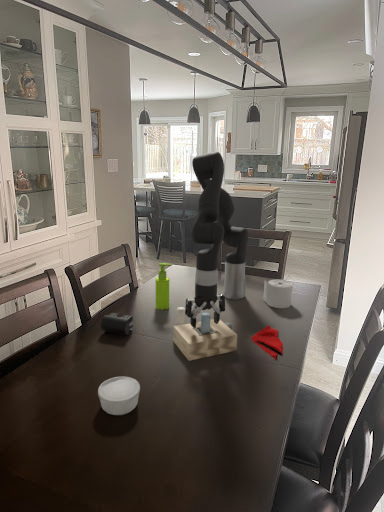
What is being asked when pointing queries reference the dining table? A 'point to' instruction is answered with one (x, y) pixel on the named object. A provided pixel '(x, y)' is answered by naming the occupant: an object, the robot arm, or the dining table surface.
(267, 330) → the cloth
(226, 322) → the short pin
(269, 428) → the dining table surface
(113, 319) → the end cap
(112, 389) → the ramekin
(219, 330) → the hole block
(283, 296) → the toilet tissue
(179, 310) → the medium pin
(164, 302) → the soap dispenser
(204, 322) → the long pin
